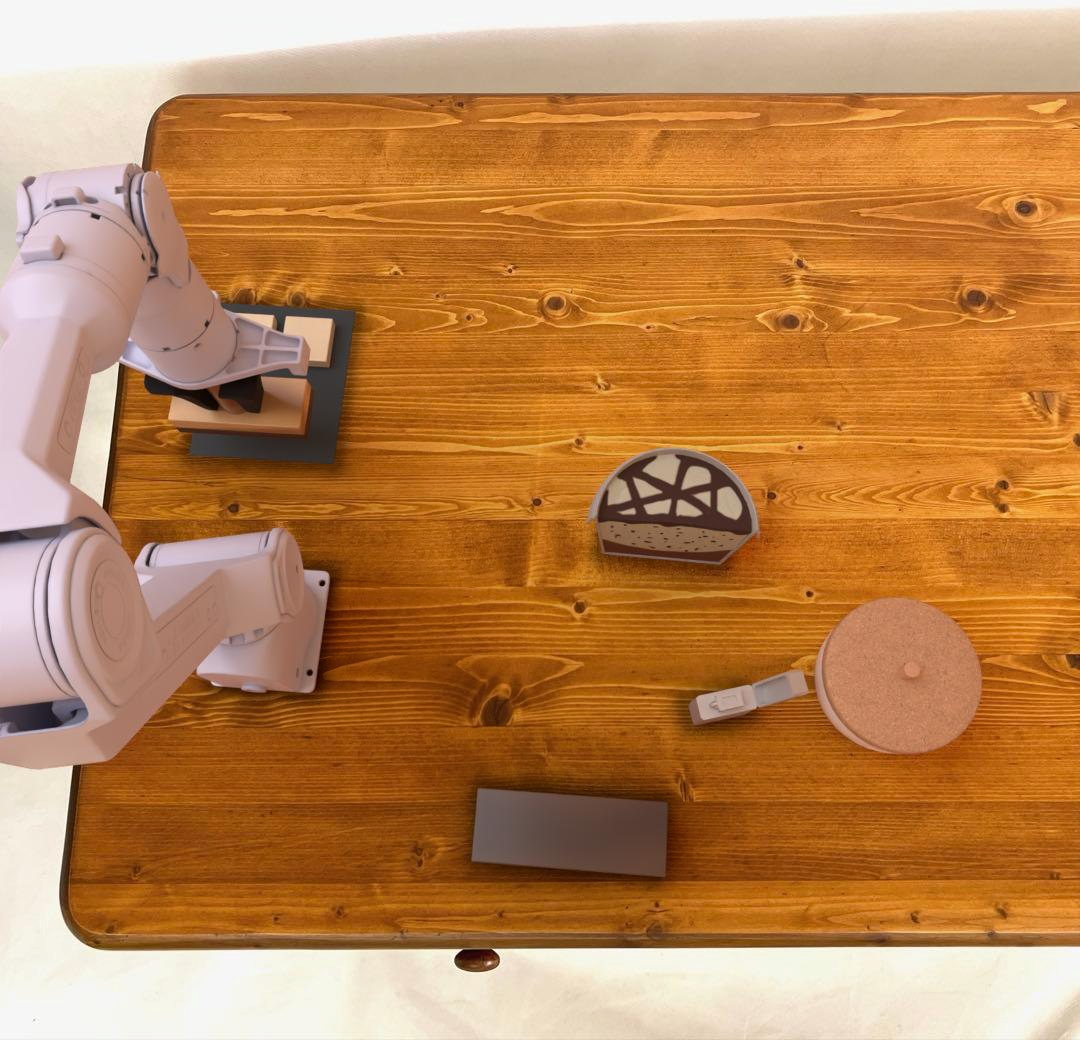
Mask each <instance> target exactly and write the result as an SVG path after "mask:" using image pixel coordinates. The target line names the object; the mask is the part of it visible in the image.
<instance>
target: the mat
mask: <svg viewBox="0 0 1080 1040" xmlns="http://www.w3.org/2000/svg"><path fill="white" fill-rule="evenodd" d="M220 305H221V306H222V308H223V309H226V310H228V311H230V312H233V313H244V314H261V315H274V316H275V318H276V320H277V328H276V331H279V332H282V333H283V332H284V326H285V320H286V316H293V317H310V318H327V319H333V321H334V323H335V332H334V339H333V345H332V352H331V359H330V365H329V367H313V366H308V370H307V375H306V376H303V375H293V374H292V373H291V371H290V370H289V369H288V368H284V369H278V370H273V371H269V372H265V373H262V374H261V377H278V378H295V379H307V381H308V383H309V384H310V386H311V388H312V389H313V391H314V399H313V405H312V412H311V419H310V426H309V432H308V439H307V440H303V439H286V438H269V437H253V436H236V435H220V434H203V433H192V435H191V441H190V446H189V452H188V455H189V456H200V457H201V456H202V457H216V458H232V459H248V460H264V461H278V462H280V461H281V462H295V463H311V464H326V465H334V463H335V458H336V451H337V443H338V436H339V430H340V422H341V417H342V415H341V414H342V408H343V402H344V395H345V388H346V382H347V375H348V374H347V373H348V366H349V360H350V353H351V346H352V339H353V332H354V325H355V318H356V310H347V309H332V308H317V307H316V308H313V307H298V306H297V307H296V306H283V305H282V306H280V305H263V304H262V305H261V304H247V303H246V304H245V303H229V302H221V303H220Z"/></svg>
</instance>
